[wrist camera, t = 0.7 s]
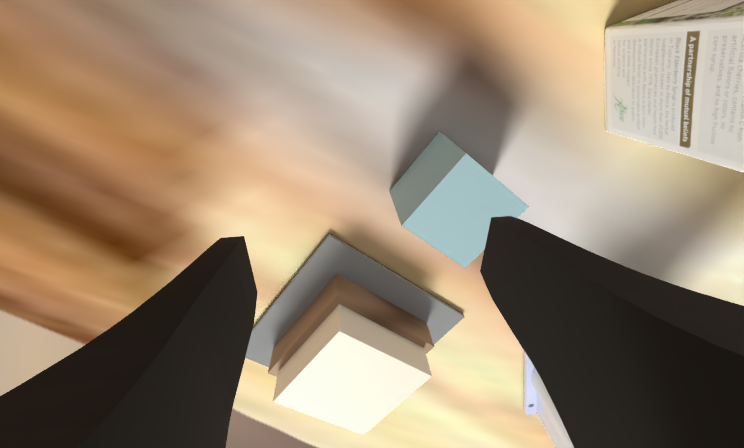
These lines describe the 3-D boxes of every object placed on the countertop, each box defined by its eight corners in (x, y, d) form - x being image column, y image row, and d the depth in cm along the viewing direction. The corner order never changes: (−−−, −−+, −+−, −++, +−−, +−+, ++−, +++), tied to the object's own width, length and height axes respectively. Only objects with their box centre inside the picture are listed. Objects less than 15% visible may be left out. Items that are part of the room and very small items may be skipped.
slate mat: (463, 313, 25) (464, 316, 25) (365, 402, 29) (365, 406, 29) (329, 233, 21) (329, 235, 21) (235, 350, 25) (234, 353, 24)
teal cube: (492, 175, 20) (528, 206, 16) (442, 228, 22) (464, 268, 18) (439, 130, 19) (466, 153, 15) (389, 190, 20) (401, 225, 16)
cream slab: (423, 348, 23) (431, 376, 21) (361, 404, 25) (363, 435, 23) (339, 304, 20) (339, 331, 18) (278, 371, 23) (272, 401, 21)
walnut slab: (426, 322, 25) (434, 346, 23) (361, 384, 27) (362, 410, 25) (337, 272, 22) (337, 294, 20) (273, 347, 24) (267, 373, 23)
